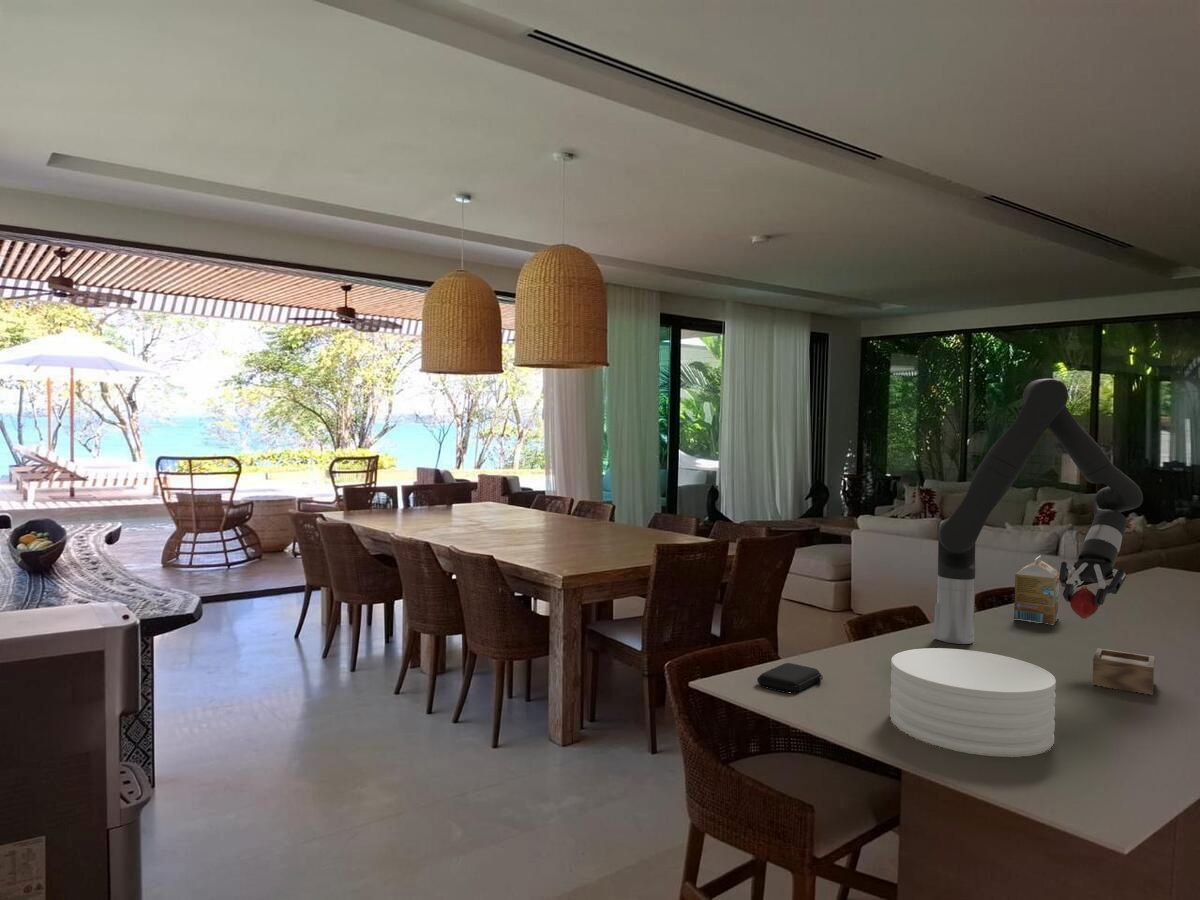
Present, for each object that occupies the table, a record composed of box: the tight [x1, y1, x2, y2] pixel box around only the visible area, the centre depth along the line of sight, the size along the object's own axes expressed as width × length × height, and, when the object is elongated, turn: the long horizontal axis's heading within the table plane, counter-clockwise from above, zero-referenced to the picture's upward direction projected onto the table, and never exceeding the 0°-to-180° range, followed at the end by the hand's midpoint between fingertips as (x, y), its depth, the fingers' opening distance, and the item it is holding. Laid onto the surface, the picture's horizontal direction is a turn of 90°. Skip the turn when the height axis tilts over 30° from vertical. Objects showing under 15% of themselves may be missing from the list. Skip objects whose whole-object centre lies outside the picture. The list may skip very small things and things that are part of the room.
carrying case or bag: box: [756, 662, 824, 694], centre depth 175 cm, size 11×3×15 cm
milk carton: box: [1013, 555, 1060, 625], centre depth 242 cm, size 11×11×19 cm
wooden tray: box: [1092, 647, 1156, 696], centre depth 179 cm, size 11×11×6 cm
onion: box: [1069, 584, 1099, 620], centre depth 190 cm, size 6×6×8 cm
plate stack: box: [889, 647, 1057, 755], centre depth 150 cm, size 28×28×12 cm
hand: (1081, 601), depth 189 cm, fingers closed on onion, 5 cm apart
